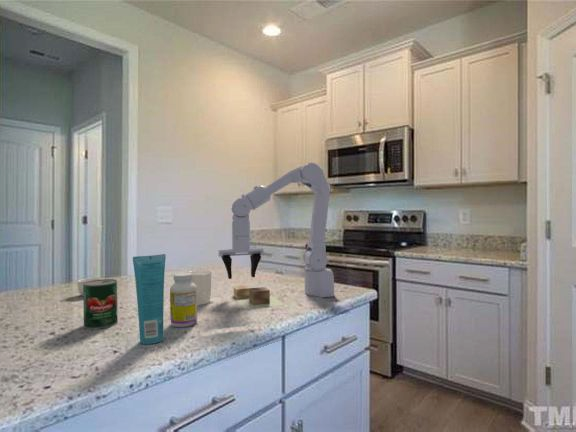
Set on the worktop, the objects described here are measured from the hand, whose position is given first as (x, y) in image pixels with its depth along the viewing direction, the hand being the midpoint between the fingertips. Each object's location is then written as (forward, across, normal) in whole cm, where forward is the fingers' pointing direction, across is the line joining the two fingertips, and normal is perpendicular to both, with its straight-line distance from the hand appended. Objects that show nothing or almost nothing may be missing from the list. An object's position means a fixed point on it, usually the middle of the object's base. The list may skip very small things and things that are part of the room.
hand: (241, 277), depth 121 cm
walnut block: (+6, -3, +10) cm, 12 cm away
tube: (+7, +28, +30) cm, 42 cm away
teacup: (+8, +47, -28) cm, 55 cm away
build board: (+7, -3, +10) cm, 13 cm away
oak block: (+7, 0, 0) cm, 7 cm away
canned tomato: (+8, +40, +12) cm, 42 cm away
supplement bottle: (+7, +20, +20) cm, 29 cm away
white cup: (+7, +14, +2) cm, 16 cm away
